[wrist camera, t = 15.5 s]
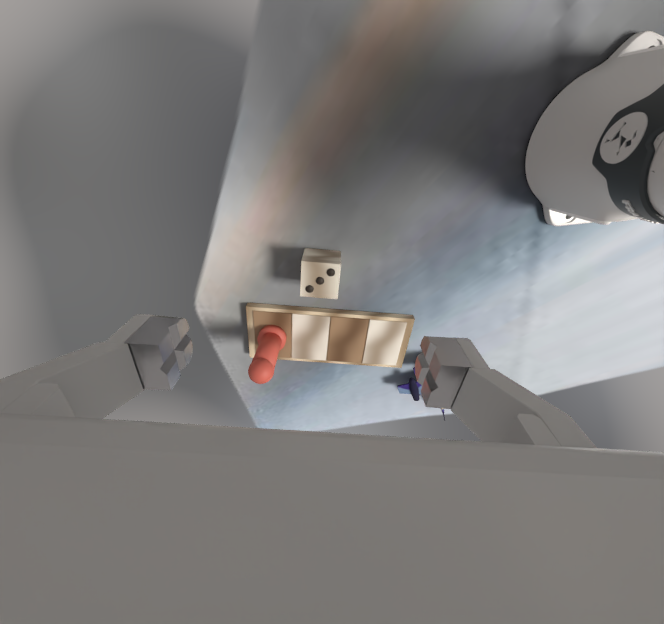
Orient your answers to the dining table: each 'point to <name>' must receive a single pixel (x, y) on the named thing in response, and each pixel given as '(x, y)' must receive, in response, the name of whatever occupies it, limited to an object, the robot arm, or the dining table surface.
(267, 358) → the pawn
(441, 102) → the dining table surface
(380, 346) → the track board
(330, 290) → the die
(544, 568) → the robot arm
